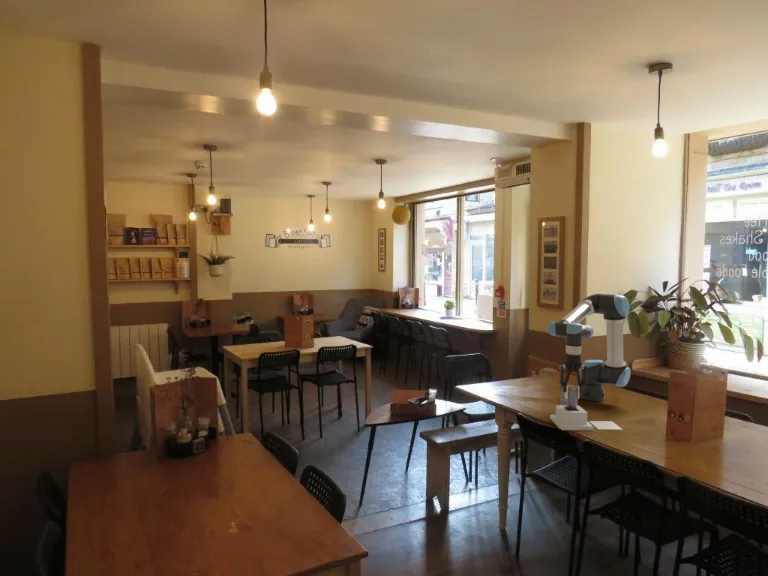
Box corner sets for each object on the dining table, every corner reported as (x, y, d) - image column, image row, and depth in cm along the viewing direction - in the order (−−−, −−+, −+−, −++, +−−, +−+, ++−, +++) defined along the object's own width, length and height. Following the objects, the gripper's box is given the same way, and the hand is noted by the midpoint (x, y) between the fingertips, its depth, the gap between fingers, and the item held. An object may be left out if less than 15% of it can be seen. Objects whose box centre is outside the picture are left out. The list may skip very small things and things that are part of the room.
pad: (589, 421, 274) (589, 421, 274) (612, 422, 274) (612, 421, 274) (598, 429, 262) (598, 429, 262) (622, 430, 262) (622, 429, 262)
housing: (549, 418, 279) (550, 403, 279) (580, 418, 279) (580, 403, 278) (560, 430, 261) (561, 414, 261) (593, 430, 261) (593, 414, 260)
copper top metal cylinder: (564, 411, 273) (565, 384, 271) (574, 411, 273) (575, 384, 271) (568, 414, 268) (569, 387, 266) (577, 414, 268) (578, 387, 266)
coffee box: (566, 410, 293) (568, 381, 292) (578, 412, 289) (579, 384, 288) (559, 413, 287) (560, 384, 286) (570, 416, 283) (571, 387, 281)
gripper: (558, 354, 264) (556, 400, 266) (594, 355, 264) (592, 400, 266) (553, 351, 271) (551, 396, 273) (588, 352, 271) (586, 396, 273)
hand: (571, 398), depth 269 cm, fingers closed on copper top metal cylinder, 5 cm apart
